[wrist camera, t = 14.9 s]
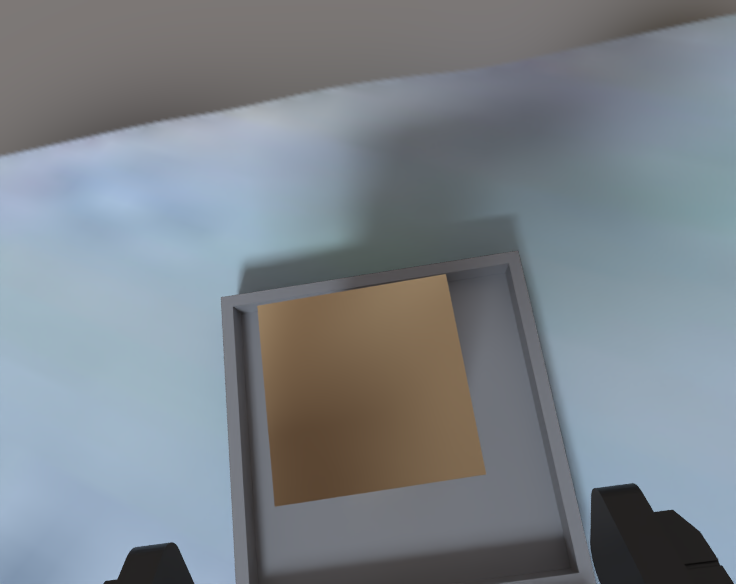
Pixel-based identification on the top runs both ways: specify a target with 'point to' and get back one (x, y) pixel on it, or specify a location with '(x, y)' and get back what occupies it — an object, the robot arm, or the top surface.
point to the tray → (425, 501)
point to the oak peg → (366, 392)
